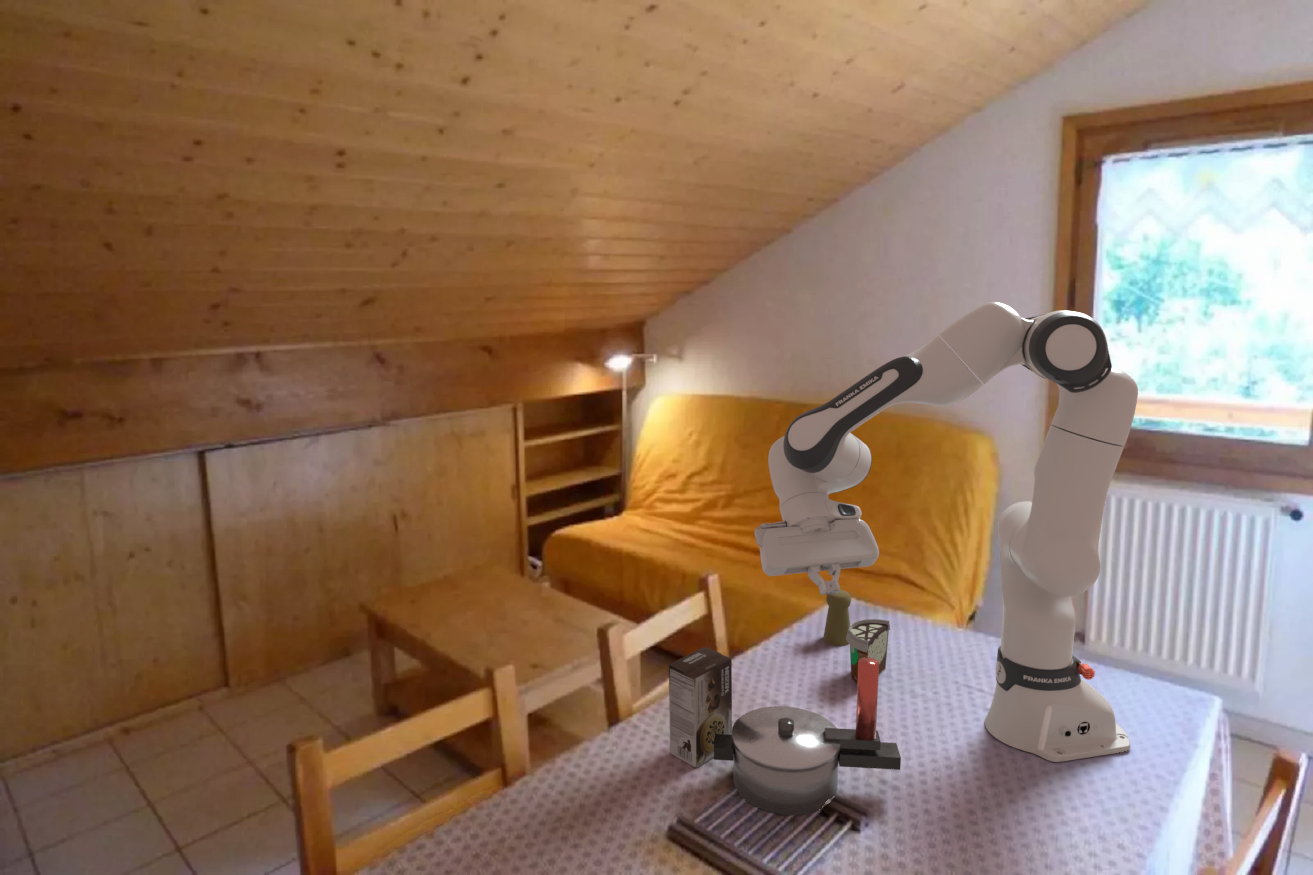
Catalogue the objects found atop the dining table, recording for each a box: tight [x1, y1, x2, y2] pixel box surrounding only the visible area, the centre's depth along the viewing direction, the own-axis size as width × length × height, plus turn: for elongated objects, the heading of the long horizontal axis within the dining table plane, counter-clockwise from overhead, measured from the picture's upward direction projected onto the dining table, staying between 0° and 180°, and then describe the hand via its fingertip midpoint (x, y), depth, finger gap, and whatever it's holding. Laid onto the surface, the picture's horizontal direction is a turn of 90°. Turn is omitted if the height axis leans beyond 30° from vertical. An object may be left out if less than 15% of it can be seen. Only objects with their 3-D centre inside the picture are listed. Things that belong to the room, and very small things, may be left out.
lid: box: [732, 657, 882, 771], centre depth 125 cm, size 22×17×14 cm
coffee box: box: [668, 646, 733, 769], centre depth 136 cm, size 9×6×16 cm
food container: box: [846, 618, 891, 684], centre depth 162 cm, size 12×6×10 cm, turn 144°
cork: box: [822, 589, 852, 647], centre depth 178 cm, size 6×6×11 cm
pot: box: [713, 734, 902, 816], centre depth 128 cm, size 28×16×7 cm, turn 84°
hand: (830, 592), depth 136 cm, fingers closed
